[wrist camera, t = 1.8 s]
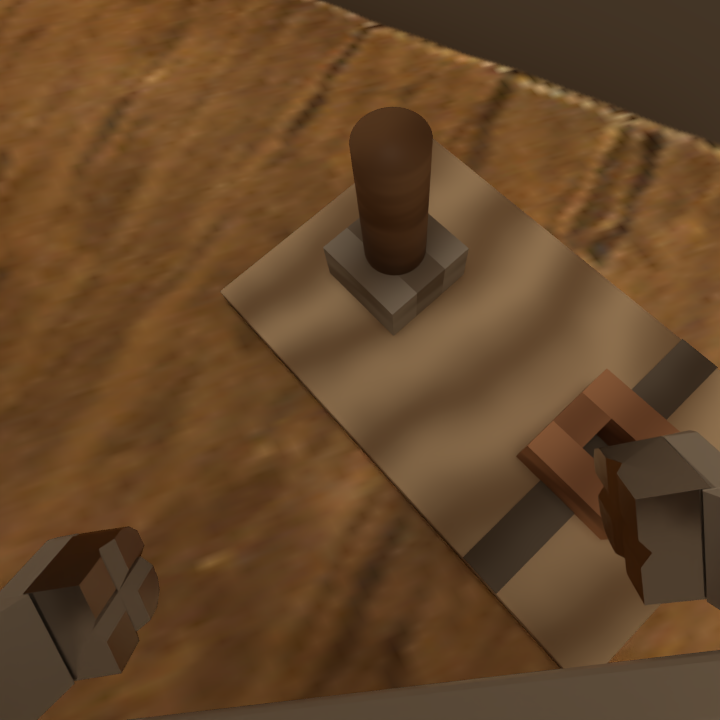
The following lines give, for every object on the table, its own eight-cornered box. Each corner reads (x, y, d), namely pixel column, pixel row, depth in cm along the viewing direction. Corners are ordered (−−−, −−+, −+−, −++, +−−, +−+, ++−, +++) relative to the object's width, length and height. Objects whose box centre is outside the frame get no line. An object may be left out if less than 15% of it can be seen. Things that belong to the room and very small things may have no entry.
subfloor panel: (227, 301, 38) (203, 267, 33) (421, 144, 41) (422, 93, 36) (574, 683, 29) (604, 706, 24) (790, 446, 32) (852, 429, 27)
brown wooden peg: (356, 271, 36) (332, 140, 24) (397, 237, 36) (392, 93, 25) (394, 309, 35) (388, 190, 23) (436, 272, 35) (450, 139, 24)
